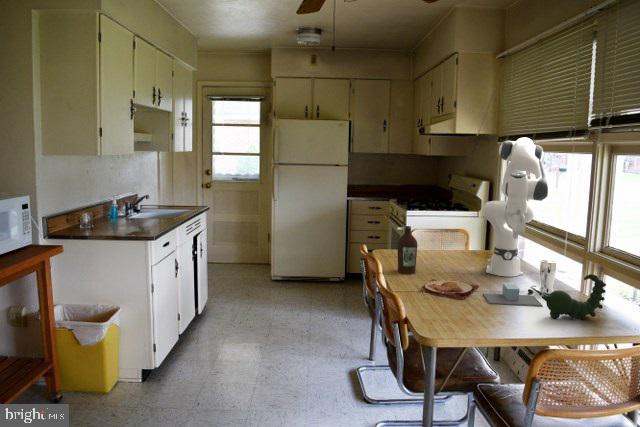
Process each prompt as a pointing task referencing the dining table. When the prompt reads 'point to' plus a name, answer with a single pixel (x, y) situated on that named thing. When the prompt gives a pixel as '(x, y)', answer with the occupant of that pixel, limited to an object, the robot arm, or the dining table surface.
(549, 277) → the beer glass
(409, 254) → the brown bottle
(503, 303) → the charcoal mat
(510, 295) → the slate block
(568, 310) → the toy figurine
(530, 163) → the robot arm
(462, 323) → the dining table surface
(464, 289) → the plate with food
